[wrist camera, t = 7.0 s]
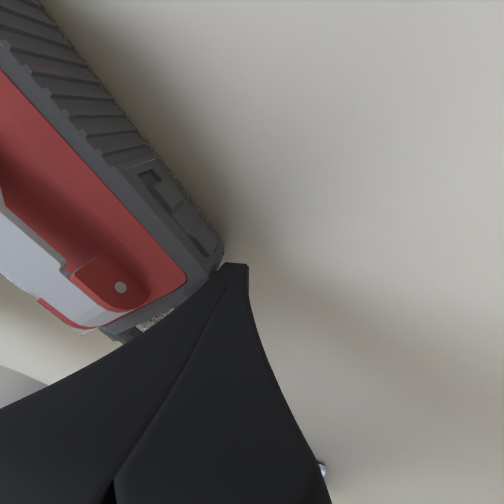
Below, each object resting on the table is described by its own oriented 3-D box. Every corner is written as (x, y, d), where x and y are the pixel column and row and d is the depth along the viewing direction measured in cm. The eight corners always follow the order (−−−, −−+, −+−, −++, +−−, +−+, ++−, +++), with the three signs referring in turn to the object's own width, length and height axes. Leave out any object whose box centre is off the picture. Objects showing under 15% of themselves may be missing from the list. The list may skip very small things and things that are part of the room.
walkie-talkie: (-127, 99, 9) (196, 379, 17) (-419, 90, 5) (170, 457, 13) (-49, -132, 6) (309, 346, 13) (-659, -578, 2) (319, 438, 9)
